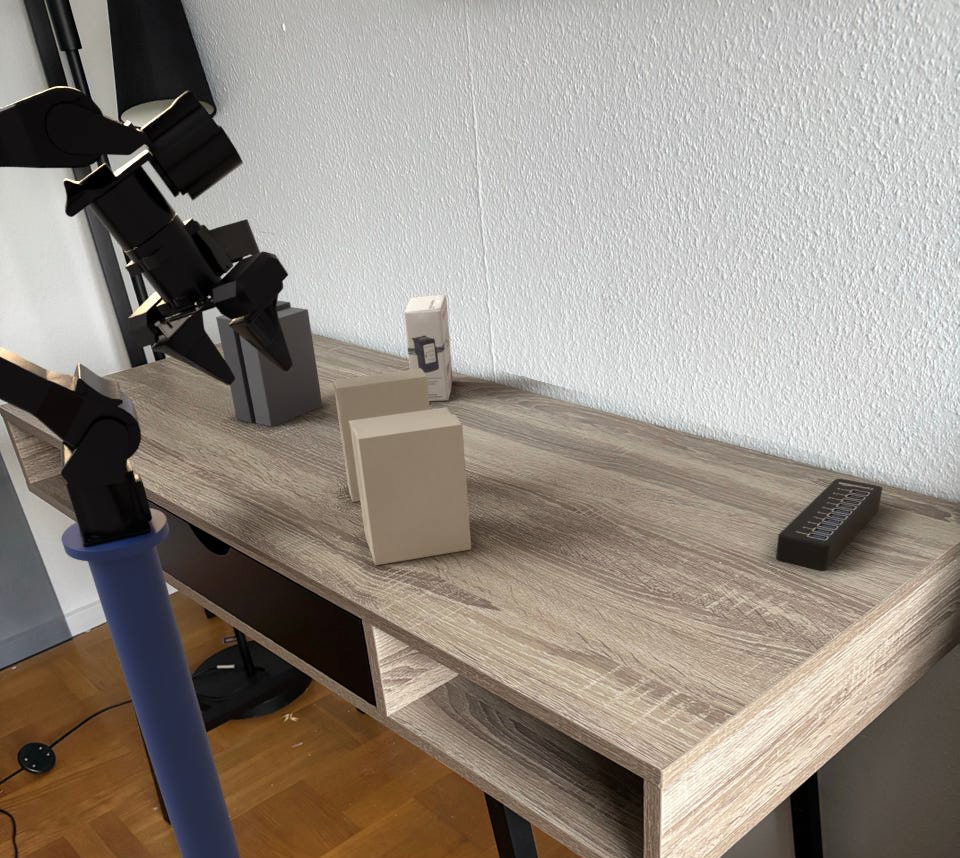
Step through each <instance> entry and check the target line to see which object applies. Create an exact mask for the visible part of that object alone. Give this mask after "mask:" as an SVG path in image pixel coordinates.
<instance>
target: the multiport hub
mask: <svg viewBox="0 0 960 858" xmlns="http://www.w3.org/2000/svg"><path fill="white" fill-rule="evenodd" d="M882 493H883V487H882V486H880V485H876V484H872V483H871V484H870V483H865V482H859V481H856V480H855V481H854V480H849V479H844V478H835V479H834V480H833V481H831V482H830V483H829V485H828V486H827V487H826V488H825V489H823V491H821V492H820V493H819V494H818V496H816V497H815V498H814V499H813V500H812V501H811V502H810V503H809V504H808V505H807V506H806V507H805V508H804V509H803V510H802V511H801V512H800V513H799V514H798V515H797V516H796V517H795V518H794V519H793V520H792V521H791V522H790V523H788V525H786V526H785V528H784V529H783V530H782V531H780V532H779V533H778V536H777V545H776V552H775V553H776V554H775V559H776V560H777V561H780V562H784V563H787V564H792V565H796V566H801V567H805V568H809V569H813V570H817V571H826V570H827V569H828V568H829V567H830V566H831V565H832V564H833V562H834V561H835V560H836V559H837V558H838V557H839V556H840V554H841V553H842V552H843V551H844V550H845V549H846V548H847V547H848V546H849V544H850V543H851V542H852V541H853V540H854V539H855V538H856V536H858V534H859V533H860V532H861V531H862V530H863V528H864V527H865V526H866V525H867V524H868V523H869V522H870V521H871V519H872V518H873V517H874V516H875V515H876V514H877V513H878V512H879V509H880V504H881V498H882Z"/></svg>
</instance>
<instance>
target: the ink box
mask: <svg viewBox="0 0 960 858" xmlns="http://www.w3.org/2000/svg"><path fill="white" fill-rule="evenodd" d="M447 301H448V300H447V295H445V294H436V295H426V296H416V297H410V299H409V301H408V303H407V306H406V308H405V310H404V312H403V316H404V318H403V319H404V326H405V338H406V347H407V356H408V365H409V367H408V368H409V370H413V369H422V370H423V372H424V373H425V375H426V376H427V383H428V394H429V402H439V401H441V402H443V401H449V399H450V395H451V391H452V386H453V382H454V381H453V369H452V367H453V366H452V354H451V342H450V341H451V340H450V338H451V337H450V325H449V313H448V302H447Z"/></svg>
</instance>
